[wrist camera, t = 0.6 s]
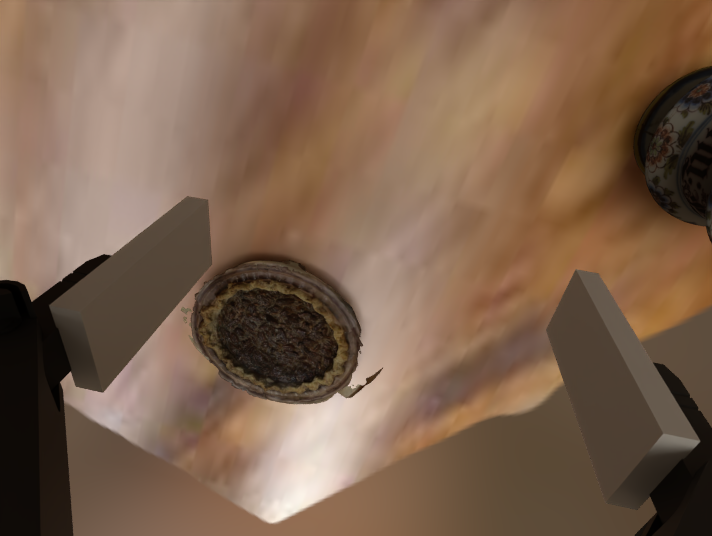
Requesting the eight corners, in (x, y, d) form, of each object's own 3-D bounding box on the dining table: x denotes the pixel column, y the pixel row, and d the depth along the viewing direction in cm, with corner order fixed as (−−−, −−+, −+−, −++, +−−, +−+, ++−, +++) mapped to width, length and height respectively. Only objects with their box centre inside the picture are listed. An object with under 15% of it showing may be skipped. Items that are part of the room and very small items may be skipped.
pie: (141, 302, 56) (118, 326, 52) (271, 168, 44) (255, 185, 40) (296, 422, 64) (287, 451, 60) (442, 337, 52) (443, 366, 48)
